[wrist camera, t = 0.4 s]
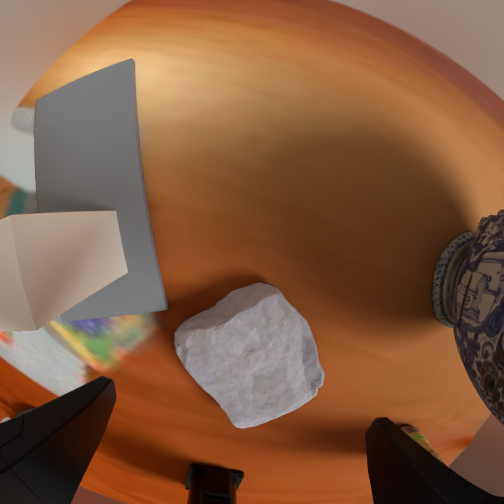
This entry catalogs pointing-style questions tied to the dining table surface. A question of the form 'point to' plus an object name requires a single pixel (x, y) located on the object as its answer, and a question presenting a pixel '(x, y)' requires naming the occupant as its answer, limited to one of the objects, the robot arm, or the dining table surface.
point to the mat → (100, 180)
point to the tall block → (55, 264)
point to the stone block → (252, 355)
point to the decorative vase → (476, 305)
